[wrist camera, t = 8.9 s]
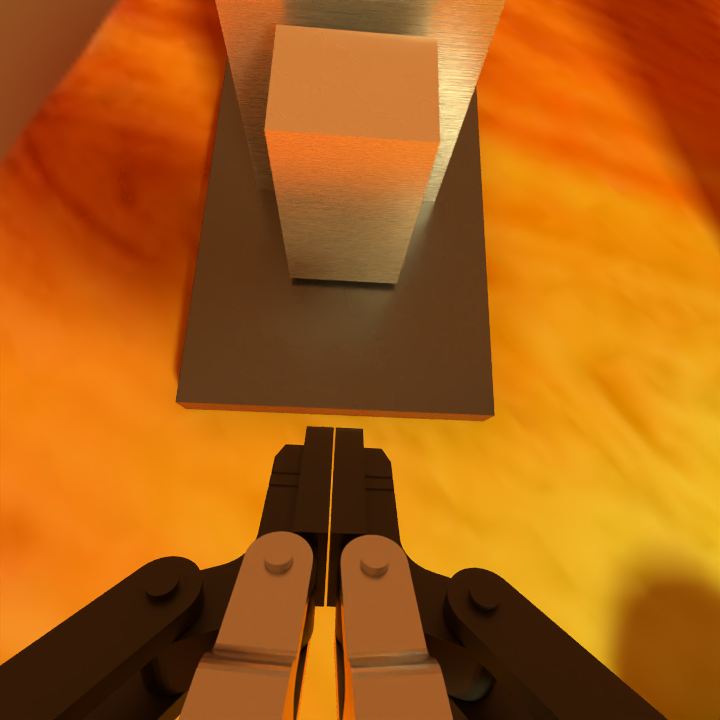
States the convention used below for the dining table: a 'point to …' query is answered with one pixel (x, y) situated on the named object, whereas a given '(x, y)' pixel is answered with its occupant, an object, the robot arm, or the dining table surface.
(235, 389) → the shaft housing
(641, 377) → the dining table surface
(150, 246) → the dining table surface
